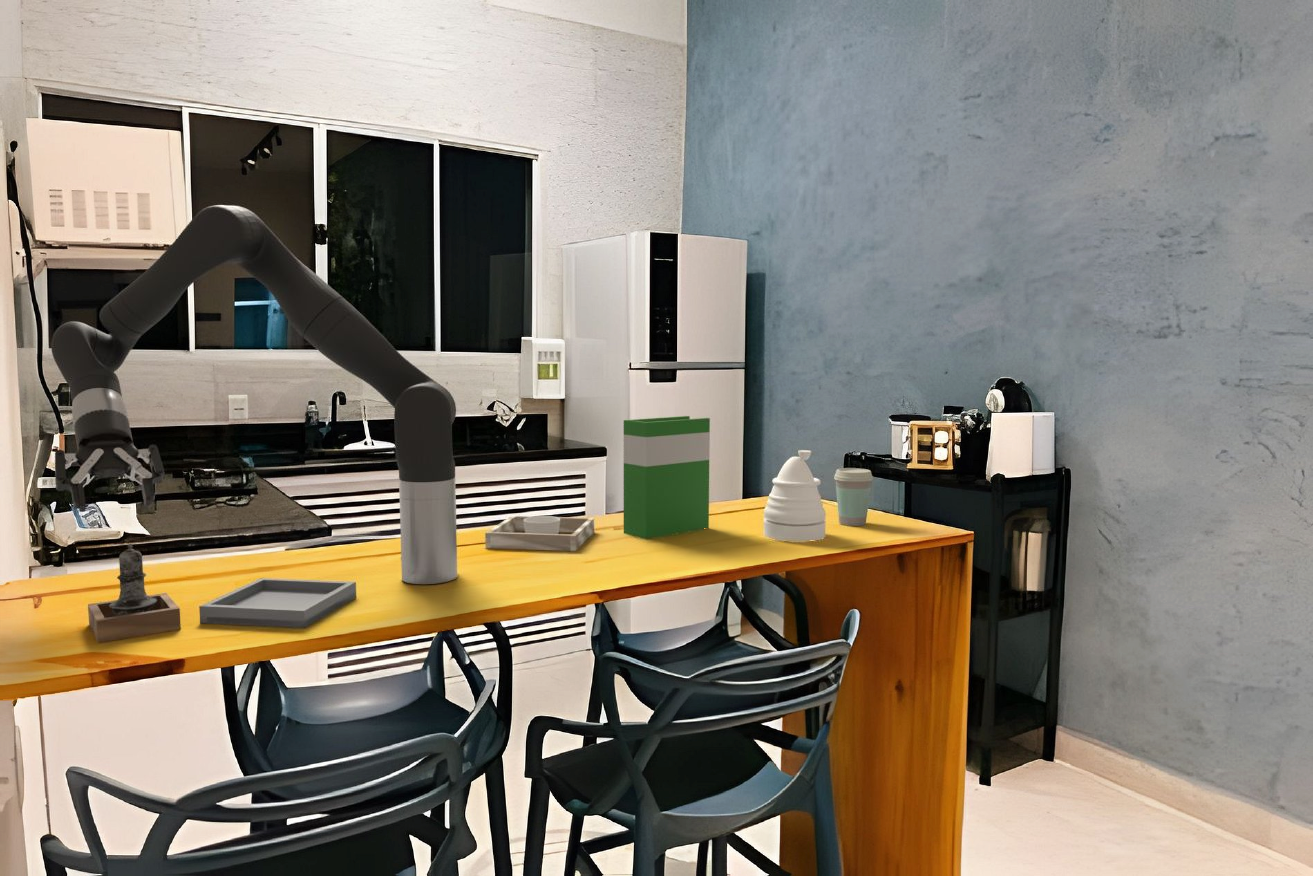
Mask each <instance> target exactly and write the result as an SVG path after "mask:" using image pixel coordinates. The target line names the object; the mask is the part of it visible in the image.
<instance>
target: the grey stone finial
mask: <svg viewBox="0 0 1313 876" xmlns="http://www.w3.org/2000/svg"><path fill="white" fill-rule="evenodd" d="M127 548H128V549H126V550H124V551H123V552H121V553H120V554H119V557H118V563H119V564H118V565H119V575H118V576H117V578H116V579H117V580H119V588H120V590H119V591H120V592H119V595H118V598H117V599H116V600H117V601H114V600H113V601H114V602H112V603H111V604H110V605H109V607H110V608H112V612H113V614H114V616H121V615H128V614H134V613H141V612H147V611H153V610H154V607H155V603H156V602H157V599H156V598H153V597H149V596H148V595H147V592H146V589H145V577H147V574H146V573H145V572H144V567H143V566H144V564H143V555H142V553H141V552H140V551H139V550H135V549H134V548H133V545H132V544H131V543H129V544H128V545H127Z"/></svg>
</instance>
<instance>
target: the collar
mask: <svg viewBox="0 0 1313 876" xmlns="http://www.w3.org/2000/svg"><path fill="white" fill-rule="evenodd" d="M147 596H149V597H153V598H156V599H157V602H156V603H155V607H154V610H153V611H147V612H141V613H134V614H128V615H121V616H114V614H113V612H112V608H110V607H109V605H110V604H111V603H112V602H114V601H117V600H118V599H115V600H110V601H109V600H108V601H100V602H94V603H88V604H87V611H88V623H89V624H88V626H89V627H90V629H91V631H92V633H93V635H94V637H95V639H96V641H97V643H98V644H100V643H106V642H112V641H119V640H124V639H130V638H137V637H141V636H148V635H153V634H154V635H155V634H161V633H167V632H173V631H178V630H181V629H182V628H181V627H182V626H181V625H182V624H181V612H180V611H181V610H180V607H179V605H177V603H175V601H174V600H173V599H172V598H171V597H170V596H169V594H168V593H167V592H165V593H164V592H163V593H156V594H149V595H147Z"/></svg>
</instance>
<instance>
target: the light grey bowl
mask: <svg viewBox="0 0 1313 876" xmlns="http://www.w3.org/2000/svg"><path fill="white" fill-rule="evenodd" d="M524 528H525V531H524V533H538V534H559V533H560V532H559V528H560V518H558V516H552V515H537V516H536V515H535V516H534V517H528V518H525V519H524Z"/></svg>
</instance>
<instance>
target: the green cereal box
mask: <svg viewBox="0 0 1313 876" xmlns="http://www.w3.org/2000/svg"><path fill="white" fill-rule="evenodd" d="M710 420H711V418H710V417H700V418H690V415H683V416H669V417H668V416H667V417H655V418H654V417H652V418H639V419H638V418H637V419H624V420H623V534H625V535H629V536H632V537H636V538H639V537H640V538H639V539H644V540H648V539H654V538H653V537H655V538H661V537H666V536H665V535H667V536H672V534H673V535H677V534H676V533H679V534H683V533H689V532H688V531H690V532H696V531H701V529H702V530H705V529H704V528H708V529H710V523H709V522H710V439H711V438H710V437H711V436H710V433H711V429H710V425H711V424H710V423H711V421H710ZM660 536H661V537H660Z"/></svg>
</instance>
